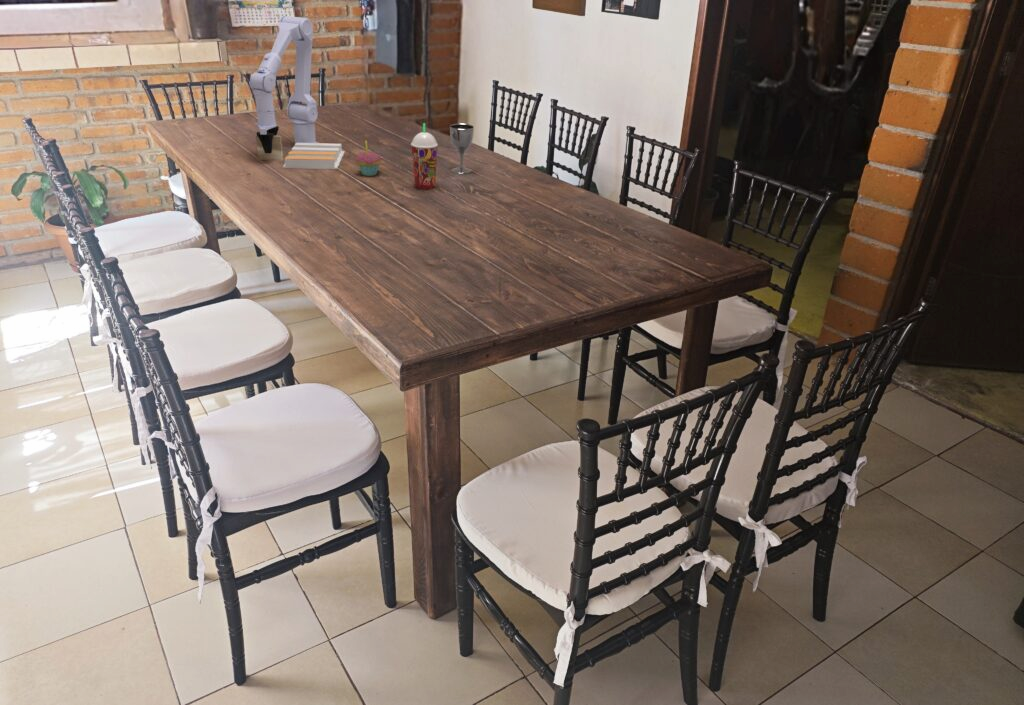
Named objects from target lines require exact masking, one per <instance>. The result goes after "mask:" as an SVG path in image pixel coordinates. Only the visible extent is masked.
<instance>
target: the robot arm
mask: <svg viewBox="0 0 1024 705" xmlns="http://www.w3.org/2000/svg"><path fill="white" fill-rule="evenodd" d="M277 30H278V33H277V36H276V38H275V40H274V42H273V43H274V44H273V45H272V48H271V50H270V52H267V53H265V55H264V56H263V58H262V60H261V63H260V65H259V67H258V69H257V71H255V72H254V73H252V74H251V75H250V78H249V82H248V84H249V87H250V89H251V90H252V95H253V96H254V100H255V106H256V108H255V109H256V116H257V122H255V123H254V126H255V127H258V129H259V131H257V132H256V136H258V138H259V139H260V141H261V143H262V146H263V149H264V152H265V153H272V140H273V136H274V135H277V136H278V132H279V128H280V126H278V125H277V120H276V114H275V104H274V95H273V91H274V90H275V88H276V79H277V77H276V76H277V74H278V72H279V70H280V68H281V66H282V64H283V63H282V60H281V58H282V56H283V55H284V53H285V51H286V50H287V48H288V47H289V45H290V44H291V42H292V43H293V44H294V46H295V66H294V68H295V73H294V74H295V75H294V93H293V94H292V95H291V96H290V97H288V104H287V106H286V115H287V118H288V119H289V120H290V122H291V123H292V125H293V126H292V127H293V136H294V137H293V138H294V145H293V146H292V148H293V147H295V144H296V143H319V141H316V140H317V139H316V128H315V123H316V121H317V119H318V115H319V112H318V107H317V100H315V99H314V97H313V96H311V79H312V56H313V54H312V53H313V52H312V51H313V41H314V25H313V23H312V22H311V20H310V19H309V17H299V16H290V15H282V16H280V19H279V22H278V23H277Z"/></svg>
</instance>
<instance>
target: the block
mask: <svg viewBox="0 0 1024 705" xmlns="http://www.w3.org/2000/svg"><path fill="white" fill-rule="evenodd" d="M255 140H256V149H257V157H258V160H259V161H283V160H284V152H283V142H282V136H281V135H278V134H277V135H274V136H273V140H272V153H265V152H264V149H263V146H262V143H261V141H260V139H259V138H258V136H257V135H256V136H255Z"/></svg>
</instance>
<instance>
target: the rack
mask: <svg viewBox="0 0 1024 705" xmlns="http://www.w3.org/2000/svg"><path fill="white" fill-rule="evenodd" d="M294 145H295V147H293V146H292V148H291V150H290V151H289V152H288V155H285V157H284V164H283V165H282V169H303V170H305V169H306V170H311V169H312V170H338V169H339V167H340V164H341V162H342V160H343V158H344V155H345V153H346V151H345V150H343V146H342V145H343V144H342V143H325V142H324V143H323V142H322V143H320V142H318V143H296V144H295V143H294ZM342 157H343V158H342ZM338 166H339V167H338ZM337 168H338V169H337Z"/></svg>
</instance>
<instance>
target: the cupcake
mask: <svg viewBox="0 0 1024 705" xmlns="http://www.w3.org/2000/svg"><path fill="white" fill-rule="evenodd" d="M364 143H365V151H363V152H361V153H359V154H358V155H357V156H356V157H355V163H356V164H357V165H358V167H359V169H360V171H361V174H362V175H363V176H367V177H368V176H369V177H370V176H371V177H372V176H376V175H377V174H378V169H379V167H380V165H381V164H382V157H381V156H380V155H379V154H377V153H375V152H372V151H369V148H368V146H369V145H368V141H367V140H365V142H364Z"/></svg>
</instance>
